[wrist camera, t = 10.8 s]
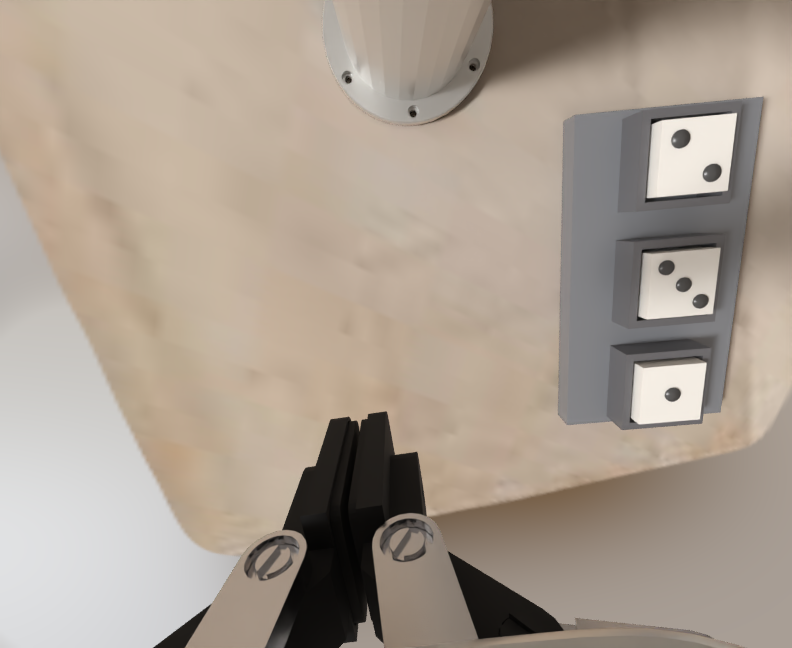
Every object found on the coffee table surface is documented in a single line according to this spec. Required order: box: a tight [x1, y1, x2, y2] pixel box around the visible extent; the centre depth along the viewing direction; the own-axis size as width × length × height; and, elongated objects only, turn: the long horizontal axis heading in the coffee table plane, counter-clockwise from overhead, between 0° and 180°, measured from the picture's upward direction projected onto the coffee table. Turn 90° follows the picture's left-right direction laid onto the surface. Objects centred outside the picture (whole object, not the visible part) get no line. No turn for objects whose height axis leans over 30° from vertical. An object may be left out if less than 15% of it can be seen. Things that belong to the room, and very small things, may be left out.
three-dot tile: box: [637, 245, 721, 320], centre depth 31 cm, size 5×5×3 cm
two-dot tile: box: [645, 113, 737, 198], centre depth 28 cm, size 5×5×3 cm
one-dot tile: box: [630, 356, 707, 424], centre depth 33 cm, size 5×5×3 cm
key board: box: [558, 97, 763, 430], centre depth 32 cm, size 26×14×4 cm, turn 5°
